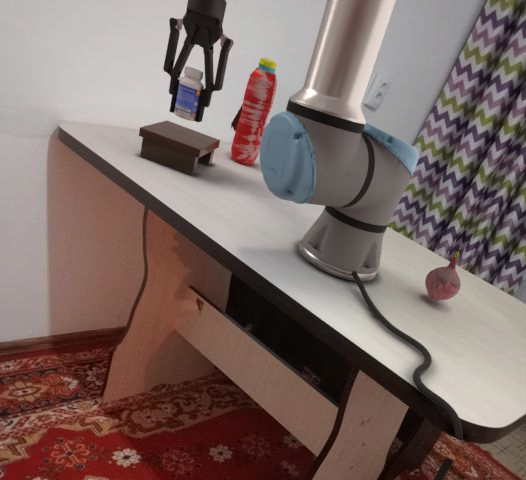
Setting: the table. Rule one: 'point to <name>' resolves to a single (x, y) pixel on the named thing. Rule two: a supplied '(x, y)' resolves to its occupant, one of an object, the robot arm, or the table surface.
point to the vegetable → (443, 281)
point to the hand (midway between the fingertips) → (185, 116)
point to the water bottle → (254, 112)
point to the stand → (177, 146)
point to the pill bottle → (189, 94)
